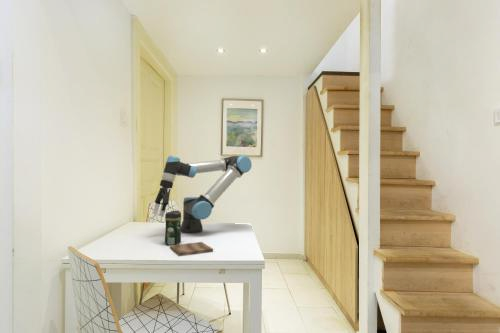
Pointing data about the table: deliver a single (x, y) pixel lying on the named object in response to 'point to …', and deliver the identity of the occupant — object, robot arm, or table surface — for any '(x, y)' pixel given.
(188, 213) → the robot arm
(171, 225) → the coffee jar
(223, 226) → the table surface
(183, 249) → the walnut board
